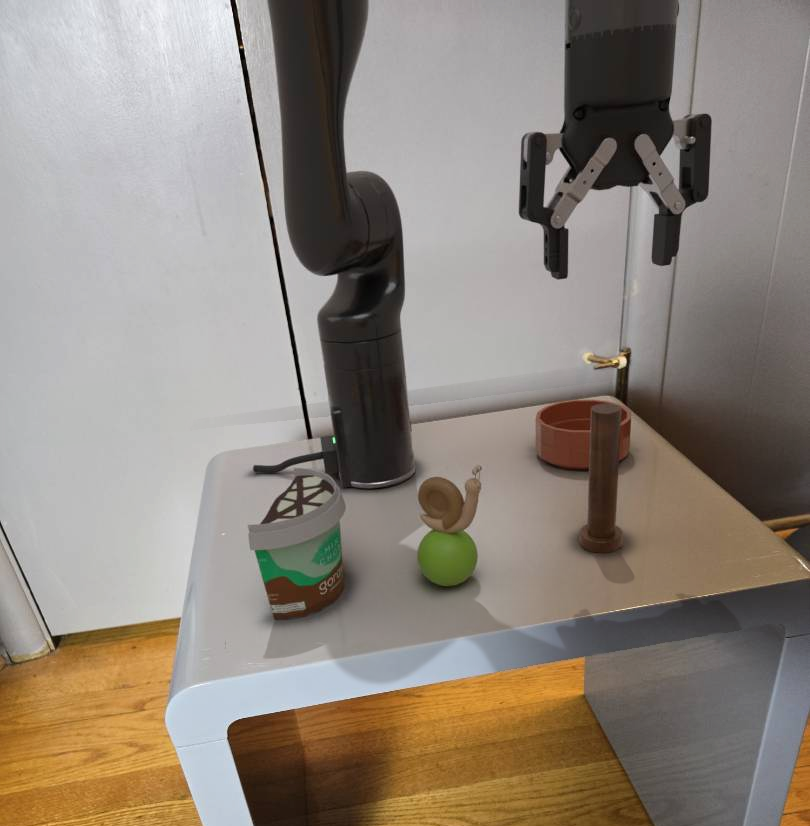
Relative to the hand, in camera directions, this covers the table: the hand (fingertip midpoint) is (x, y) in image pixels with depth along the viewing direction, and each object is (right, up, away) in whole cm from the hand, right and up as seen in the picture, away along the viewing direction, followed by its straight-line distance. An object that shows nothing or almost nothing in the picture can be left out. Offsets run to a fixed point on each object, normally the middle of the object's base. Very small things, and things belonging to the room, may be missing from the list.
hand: (610, 271), depth 59 cm
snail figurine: (-12, -26, +8) cm, 30 cm away
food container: (-24, -27, +9) cm, 37 cm away
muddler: (+2, -22, +12) cm, 25 cm away
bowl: (+5, -11, +31) cm, 33 cm away
